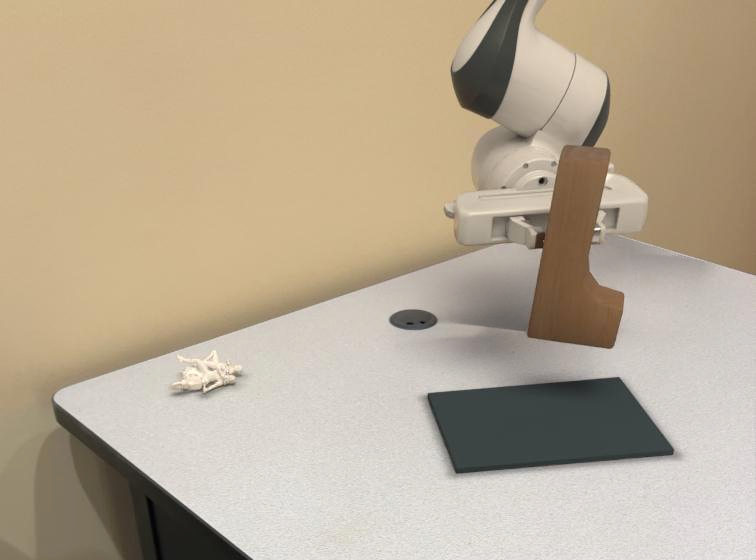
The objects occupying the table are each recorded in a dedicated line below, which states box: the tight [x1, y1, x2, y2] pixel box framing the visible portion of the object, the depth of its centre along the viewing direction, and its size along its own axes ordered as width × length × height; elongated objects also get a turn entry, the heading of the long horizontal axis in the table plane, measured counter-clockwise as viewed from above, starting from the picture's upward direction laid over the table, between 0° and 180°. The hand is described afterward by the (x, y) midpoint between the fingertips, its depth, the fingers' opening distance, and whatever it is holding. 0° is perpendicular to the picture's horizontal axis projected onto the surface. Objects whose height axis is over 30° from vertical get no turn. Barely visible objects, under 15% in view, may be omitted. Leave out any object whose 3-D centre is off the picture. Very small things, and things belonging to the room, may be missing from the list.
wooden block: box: [526, 145, 625, 350], centre depth 89 cm, size 9×4×18 cm, turn 73°
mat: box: [427, 376, 675, 474], centre depth 95 cm, size 22×16×1 cm
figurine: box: [170, 349, 244, 394], centre depth 105 cm, size 3×8×8 cm
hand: (568, 239), depth 90 cm, fingers closed on wooden block, 5 cm apart
